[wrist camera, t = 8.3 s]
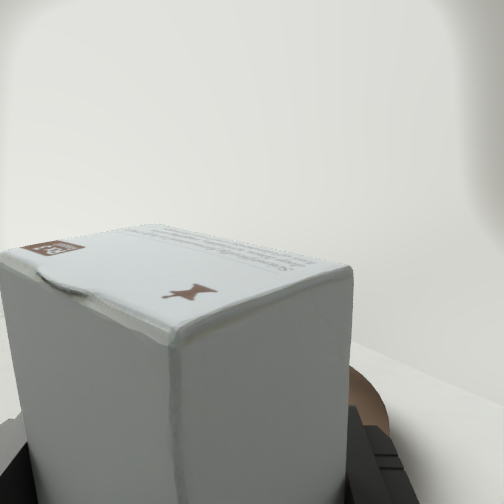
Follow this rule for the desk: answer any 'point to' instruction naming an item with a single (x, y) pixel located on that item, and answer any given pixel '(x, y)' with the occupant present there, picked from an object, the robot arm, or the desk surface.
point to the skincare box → (179, 368)
